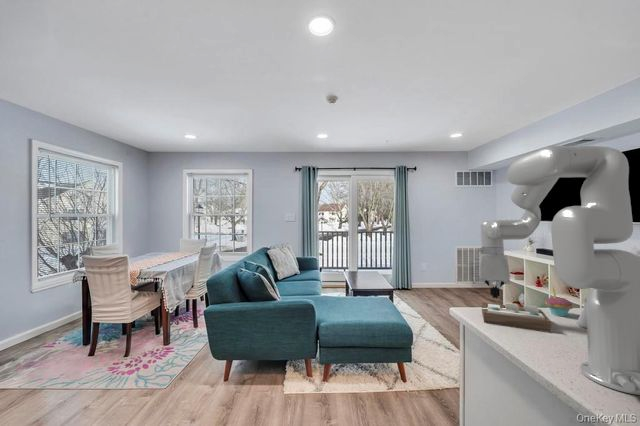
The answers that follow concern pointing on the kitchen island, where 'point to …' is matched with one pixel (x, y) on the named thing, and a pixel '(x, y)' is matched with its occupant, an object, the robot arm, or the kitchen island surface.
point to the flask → (583, 316)
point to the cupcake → (558, 305)
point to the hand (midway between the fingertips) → (495, 297)
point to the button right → (531, 308)
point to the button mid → (511, 306)
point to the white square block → (493, 306)
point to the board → (516, 318)
